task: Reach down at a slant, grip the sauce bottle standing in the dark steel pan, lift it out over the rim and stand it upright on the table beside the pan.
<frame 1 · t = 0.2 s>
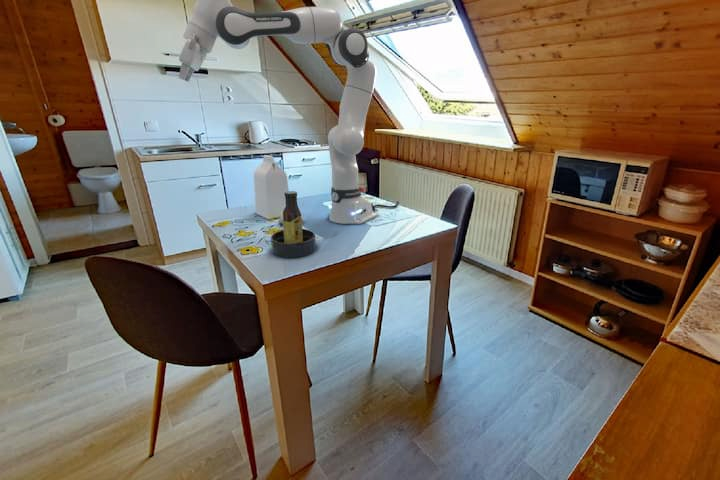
hand: (183, 79, 116), 54 cm above the table, tool tilted 30°, fingers open, 8 cm apart
donut: (291, 223, 146), on the table
pan: (294, 249, 120), on the table
sauce bottle: (294, 249, 120), resting on pan
milk: (273, 214, 158), on the table
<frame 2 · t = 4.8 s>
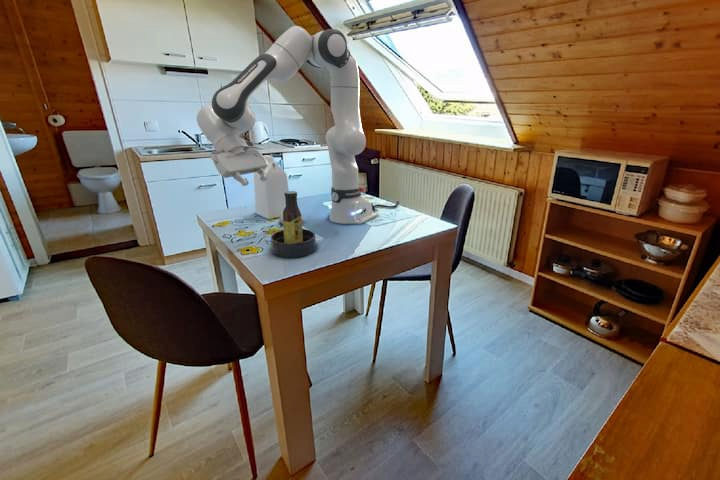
hand: (256, 182, 117), 22 cm above the table, tool tilted 40°, fingers open, 8 cm apart
nothing on the table moved.
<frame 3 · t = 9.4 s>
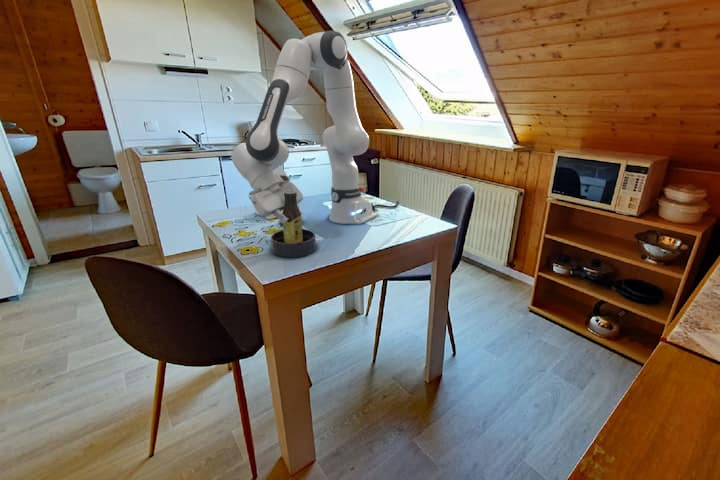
hand: (293, 218, 115), 11 cm above the table, tool tilted 45°, fingers closed on sauce bottle, 6 cm apart
sauce bottle: (294, 248, 120), resting on pan, touching gripper
everything else where it was.
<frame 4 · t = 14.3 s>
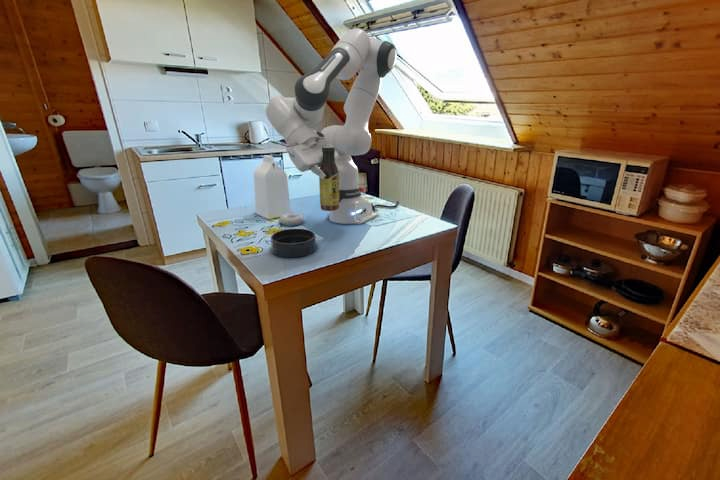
hand: (331, 175, 109), 26 cm above the table, tool tilted 45°, fingers closed on sauce bottle, 6 cm apart
sauce bottle: (330, 209, 113), point 15 cm above the table, touching gripper
everything else where it was.
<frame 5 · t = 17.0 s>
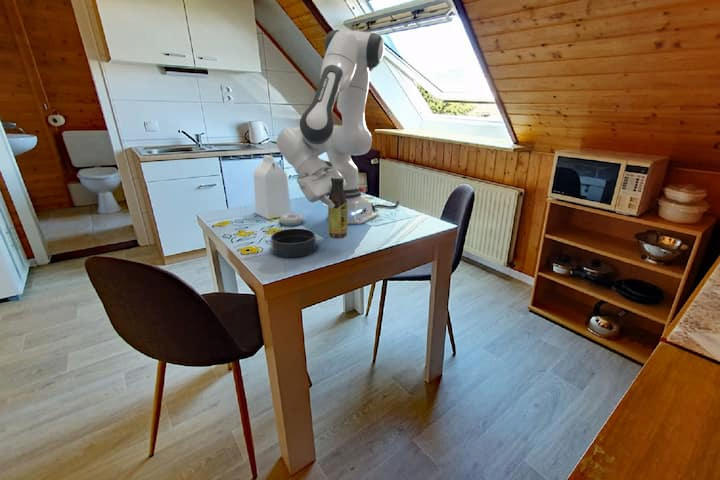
hand: (339, 204, 112), 17 cm above the table, tool tilted 45°, fingers closed on sauce bottle, 6 cm apart
sauce bottle: (338, 236, 116), point 5 cm above the table, touching gripper
everything else where it was.
when the fingers open (11 cm above the table, at t = 19.1 s): sauce bottle stays where it is, on the table.
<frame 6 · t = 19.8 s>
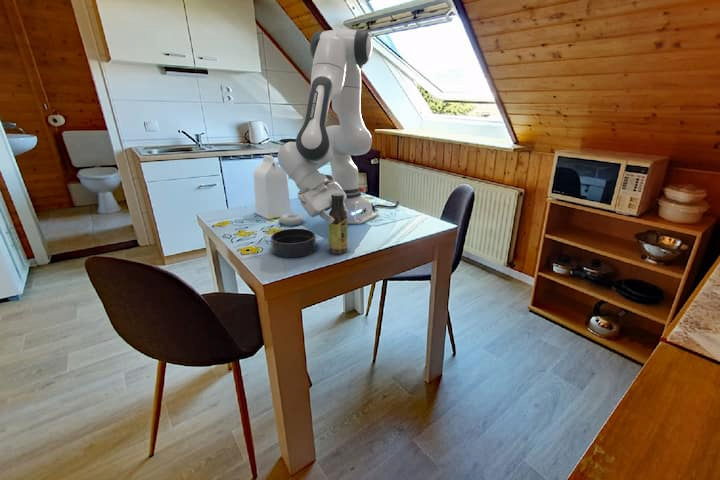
hand: (340, 218, 114), 12 cm above the table, tool tilted 45°, fingers open, 8 cm apart
sauce bottle: (338, 251, 118), on the table
everything else where it was.
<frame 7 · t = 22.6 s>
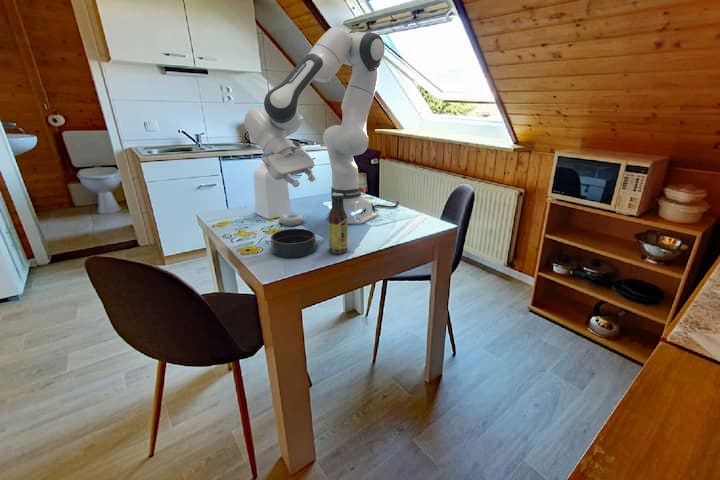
hand: (305, 183, 115), 22 cm above the table, tool tilted 45°, fingers open, 8 cm apart
nothing on the table moved.
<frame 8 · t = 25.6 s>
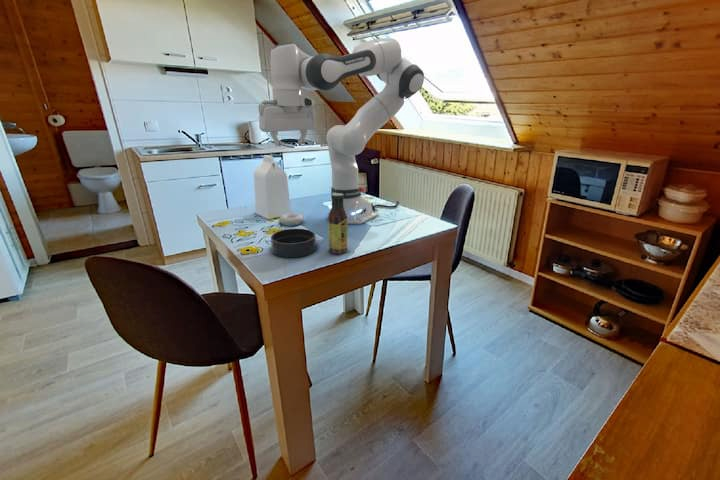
hand: (290, 145, 116), 34 cm above the table, tool pointing down, fingers open, 8 cm apart
nothing on the table moved.
at the end: sauce bottle inside the target area (0.2 cm from its centre), on the table; sauce bottle tilted 0°; the gripper is holding nothing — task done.
